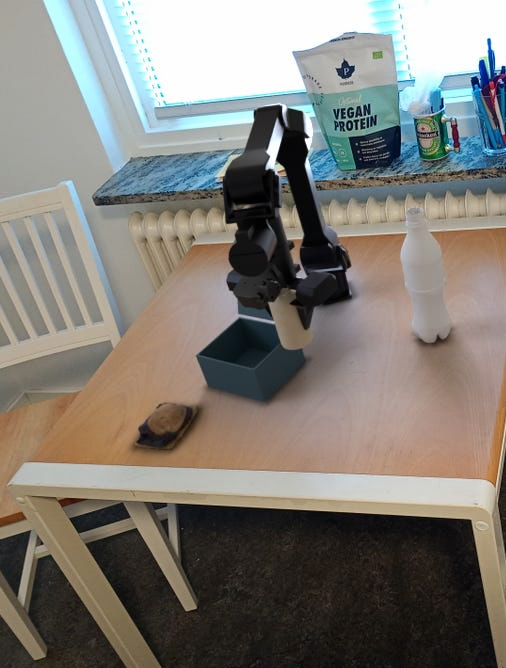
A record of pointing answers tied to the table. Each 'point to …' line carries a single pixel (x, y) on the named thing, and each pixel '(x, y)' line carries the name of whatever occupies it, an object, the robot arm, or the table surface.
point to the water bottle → (424, 278)
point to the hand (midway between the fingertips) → (293, 325)
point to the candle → (289, 322)
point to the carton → (249, 360)
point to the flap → (253, 312)
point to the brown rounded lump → (165, 426)
